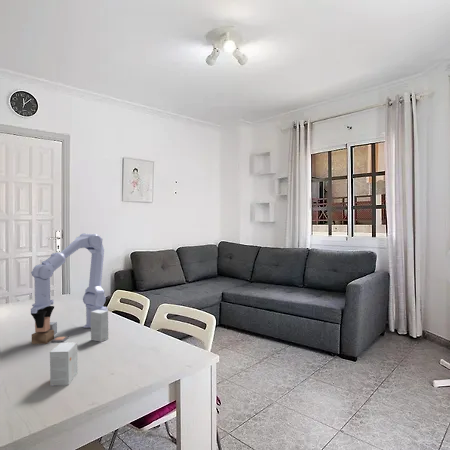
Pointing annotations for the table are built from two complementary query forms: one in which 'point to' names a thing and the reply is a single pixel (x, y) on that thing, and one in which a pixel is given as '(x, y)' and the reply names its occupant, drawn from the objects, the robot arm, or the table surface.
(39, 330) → the terracotta block
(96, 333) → the skincare box
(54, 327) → the slate block
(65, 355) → the small box
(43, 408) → the table surface
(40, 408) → the table surface
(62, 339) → the tile
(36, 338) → the walnut block
